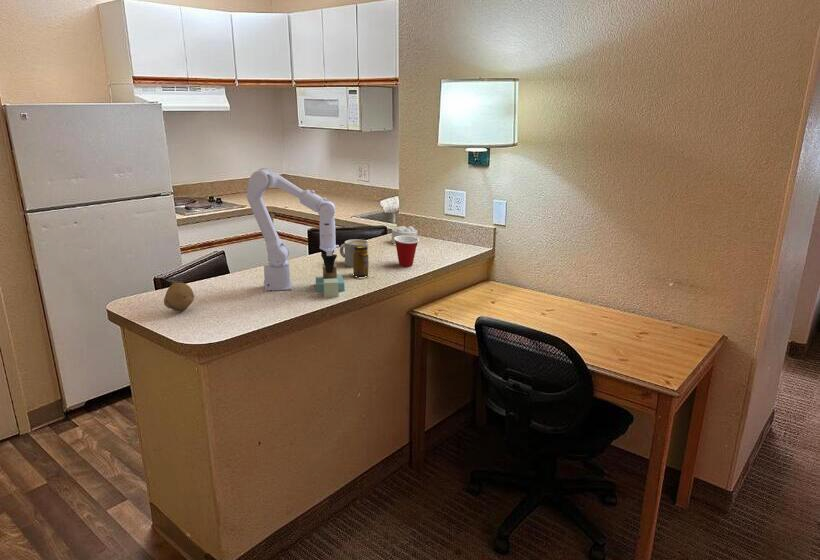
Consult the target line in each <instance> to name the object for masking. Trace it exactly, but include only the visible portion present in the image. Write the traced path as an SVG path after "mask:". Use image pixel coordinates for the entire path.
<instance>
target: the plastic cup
mask: <svg viewBox="0 0 820 560" xmlns="http://www.w3.org/2000/svg"><path fill="white" fill-rule="evenodd" d="M394 240H395V243H396V245H395V246H396V247H395V248H396V254H397V259H398V264H399V266H400V267H402V266H403V268H409V267H412V266H414V265H413V264H414V260H415V255H416V250H417V249H416V248H417V246H418V243H419V242H420V239H419V237H417V238H416V237H412V236H396V237H394Z"/></svg>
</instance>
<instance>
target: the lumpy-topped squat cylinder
mask: <svg viewBox="0 0 820 560" xmlns="http://www.w3.org/2000/svg"><path fill="white" fill-rule="evenodd" d="M396 236H412V237H416V238H418V230H417V229H415V228H414V226H412V225H410V226H409V225H408V226H407V227H406V226H405V225H400V226H396V227H394V228H392V229H391V244H392V243H393V244H396V243H395V240H394V237H396ZM393 244H392V245H393Z"/></svg>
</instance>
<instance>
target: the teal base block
mask: <svg viewBox="0 0 820 560" xmlns="http://www.w3.org/2000/svg"><path fill="white" fill-rule="evenodd" d="M337 280H338V289H339V292H345V291H346V289H345V288H346V287H345V281H344V278H343V275H337ZM315 286H316V287H317V288H316V292H317V293H324V284H323V275H320V276H315Z"/></svg>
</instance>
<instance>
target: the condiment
mask: <svg viewBox="0 0 820 560" xmlns="http://www.w3.org/2000/svg"><path fill="white" fill-rule="evenodd" d="M353 274H354V275H353ZM368 274H369V251H368V252H367V246H364V245H357V246H355V247H354V254H353V271H352V273H349V275H350V276H352V277H353V278H356V279H357V280H361V279H369V278H374V277H375V276H374V275H372V274H370V275H369V276H370V277H369V276H368ZM355 276H357V277H355ZM365 276H368V277H367V278H366V277H365ZM359 277H365V278H359Z"/></svg>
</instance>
